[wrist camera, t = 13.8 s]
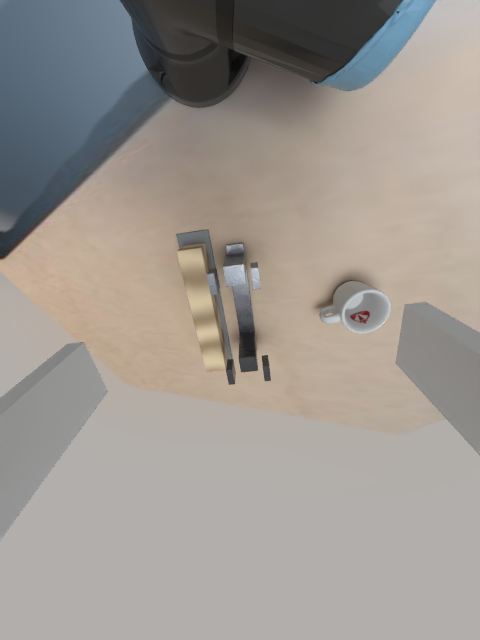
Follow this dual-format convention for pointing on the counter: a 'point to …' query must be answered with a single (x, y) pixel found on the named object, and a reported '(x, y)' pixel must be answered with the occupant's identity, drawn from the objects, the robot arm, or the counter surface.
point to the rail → (203, 306)
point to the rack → (240, 308)
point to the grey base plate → (201, 238)
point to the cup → (358, 307)
